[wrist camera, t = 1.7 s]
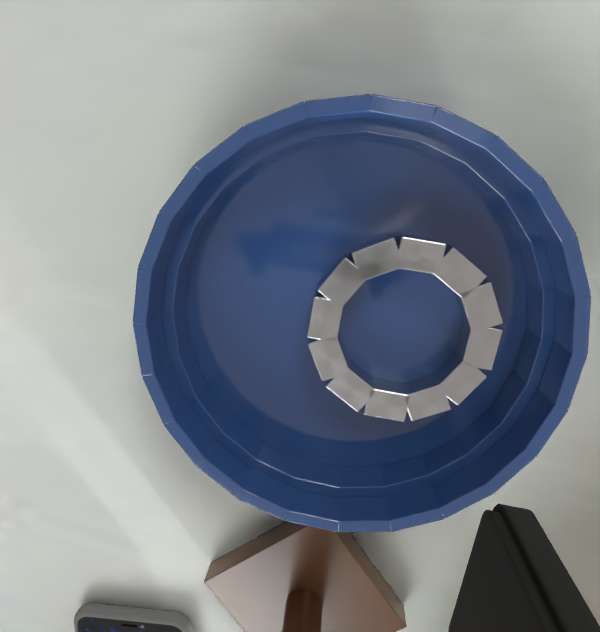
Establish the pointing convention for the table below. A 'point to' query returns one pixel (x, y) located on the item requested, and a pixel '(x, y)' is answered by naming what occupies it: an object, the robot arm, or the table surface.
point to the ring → (427, 391)
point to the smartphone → (129, 619)
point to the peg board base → (304, 584)
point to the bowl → (356, 311)
